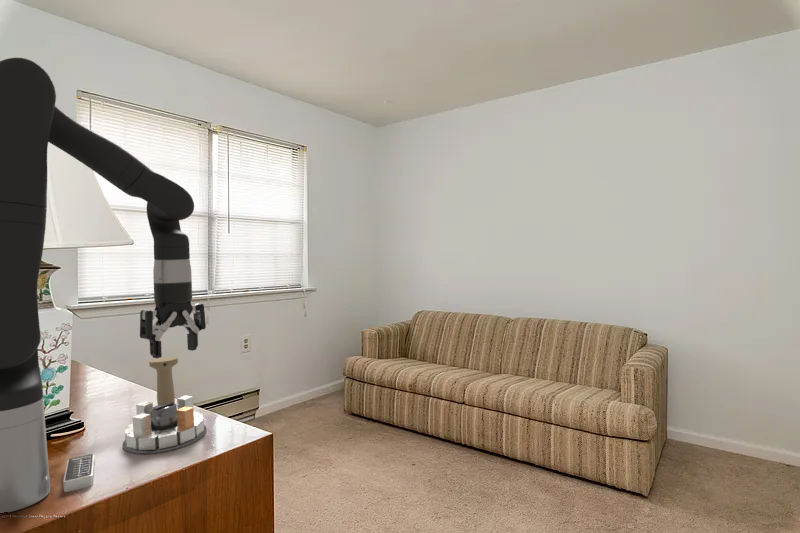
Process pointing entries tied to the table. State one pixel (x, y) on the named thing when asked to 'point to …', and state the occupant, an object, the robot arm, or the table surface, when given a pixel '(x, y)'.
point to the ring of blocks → (164, 428)
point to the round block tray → (147, 439)
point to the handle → (164, 378)
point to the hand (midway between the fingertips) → (175, 353)
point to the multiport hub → (79, 472)
